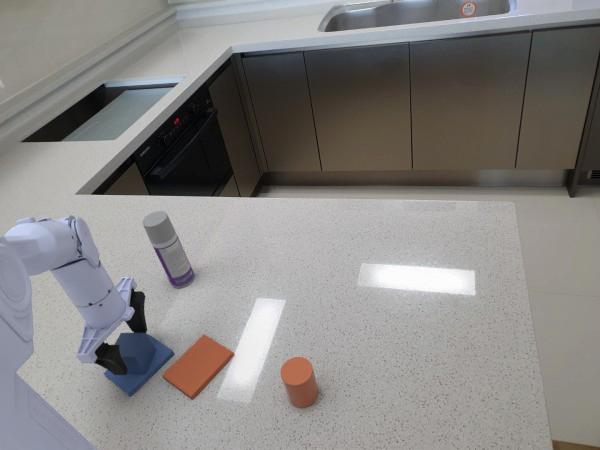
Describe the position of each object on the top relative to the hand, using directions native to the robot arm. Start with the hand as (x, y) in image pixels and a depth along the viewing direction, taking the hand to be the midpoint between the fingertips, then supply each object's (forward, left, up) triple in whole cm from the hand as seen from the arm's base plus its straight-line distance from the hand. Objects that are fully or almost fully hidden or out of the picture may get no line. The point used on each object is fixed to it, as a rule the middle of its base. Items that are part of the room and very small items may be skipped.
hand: (131, 351), depth 72 cm
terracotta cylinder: (+10, -26, -4) cm, 28 cm away
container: (+17, +9, -4) cm, 20 cm away
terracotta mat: (+5, -9, -4) cm, 11 cm away
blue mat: (0, 0, -4) cm, 4 cm away
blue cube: (0, 0, -3) cm, 3 cm away
